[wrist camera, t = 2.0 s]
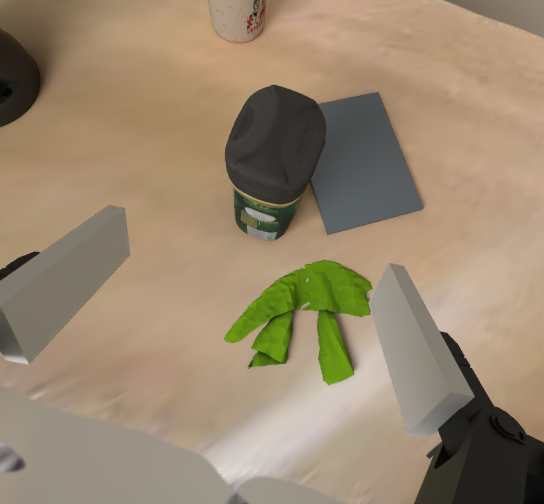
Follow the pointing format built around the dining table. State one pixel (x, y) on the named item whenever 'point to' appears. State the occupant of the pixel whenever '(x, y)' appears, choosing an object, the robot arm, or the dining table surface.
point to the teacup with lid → (237, 19)
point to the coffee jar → (273, 158)
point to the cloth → (296, 292)
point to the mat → (361, 167)
